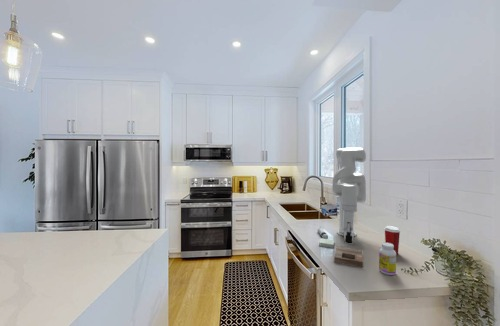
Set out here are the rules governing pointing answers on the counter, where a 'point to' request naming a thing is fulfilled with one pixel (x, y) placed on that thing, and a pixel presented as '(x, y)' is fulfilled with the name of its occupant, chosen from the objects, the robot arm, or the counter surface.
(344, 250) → the walnut flange plate
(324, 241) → the tab
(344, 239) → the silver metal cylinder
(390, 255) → the supplement bottle
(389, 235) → the paper cup
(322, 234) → the torpedo
